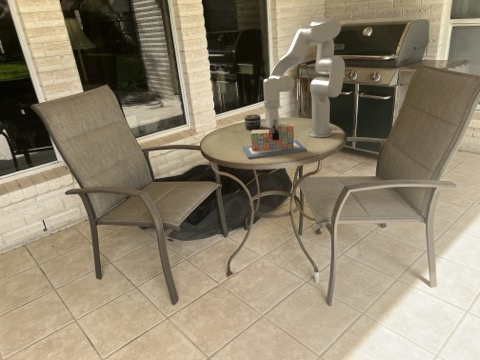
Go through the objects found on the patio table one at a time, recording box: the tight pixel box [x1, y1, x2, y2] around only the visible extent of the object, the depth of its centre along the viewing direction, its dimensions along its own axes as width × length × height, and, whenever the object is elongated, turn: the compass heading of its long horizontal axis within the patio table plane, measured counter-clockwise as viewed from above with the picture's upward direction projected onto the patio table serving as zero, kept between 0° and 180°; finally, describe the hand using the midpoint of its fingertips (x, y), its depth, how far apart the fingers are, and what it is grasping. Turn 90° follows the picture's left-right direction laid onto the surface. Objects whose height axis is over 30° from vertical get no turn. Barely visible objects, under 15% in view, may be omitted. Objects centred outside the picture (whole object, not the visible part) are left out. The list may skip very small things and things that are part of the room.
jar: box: [244, 114, 262, 131], centre depth 229 cm, size 10×10×8 cm
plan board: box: [242, 139, 308, 160], centre depth 191 cm, size 30×16×1 cm, turn 100°
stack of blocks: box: [250, 122, 295, 150], centre depth 188 cm, size 21×6×12 cm, turn 84°
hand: (273, 137), depth 189 cm, fingers open, 9 cm apart
